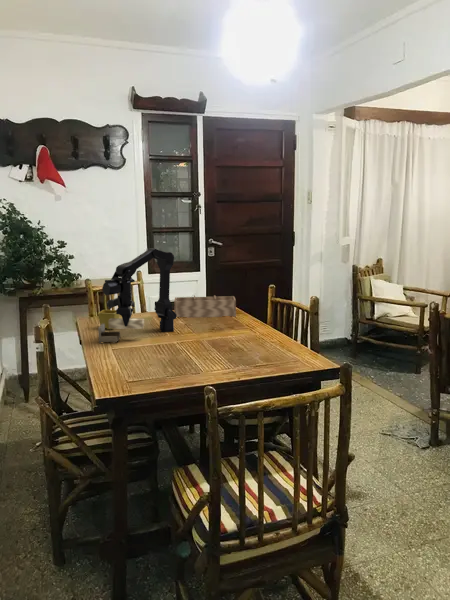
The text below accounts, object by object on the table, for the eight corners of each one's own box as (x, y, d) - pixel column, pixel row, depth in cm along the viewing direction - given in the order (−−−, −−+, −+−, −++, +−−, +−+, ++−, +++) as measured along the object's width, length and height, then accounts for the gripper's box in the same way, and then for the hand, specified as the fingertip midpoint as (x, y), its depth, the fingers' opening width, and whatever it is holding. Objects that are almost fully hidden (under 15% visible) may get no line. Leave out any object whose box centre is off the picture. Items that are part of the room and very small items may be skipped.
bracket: (120, 337, 235) (119, 323, 234) (117, 342, 225) (116, 328, 224) (102, 337, 235) (102, 323, 233) (98, 343, 225) (98, 328, 223)
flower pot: (120, 326, 257) (119, 309, 255) (115, 330, 248) (114, 313, 247) (104, 326, 258) (103, 309, 256) (98, 330, 249) (97, 313, 248)
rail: (144, 326, 231) (144, 318, 230) (142, 328, 227) (142, 320, 226) (111, 326, 232) (110, 318, 231) (108, 328, 228) (108, 320, 228)
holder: (234, 311, 292) (233, 294, 290) (235, 316, 280) (235, 298, 278) (175, 313, 290) (174, 295, 288) (174, 317, 278) (174, 299, 276)
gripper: (110, 289, 235) (112, 321, 238) (103, 296, 217) (105, 330, 220) (134, 289, 236) (135, 320, 239) (129, 295, 217) (130, 329, 220)
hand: (126, 325), depth 229 cm, fingers closed on rail, 4 cm apart
